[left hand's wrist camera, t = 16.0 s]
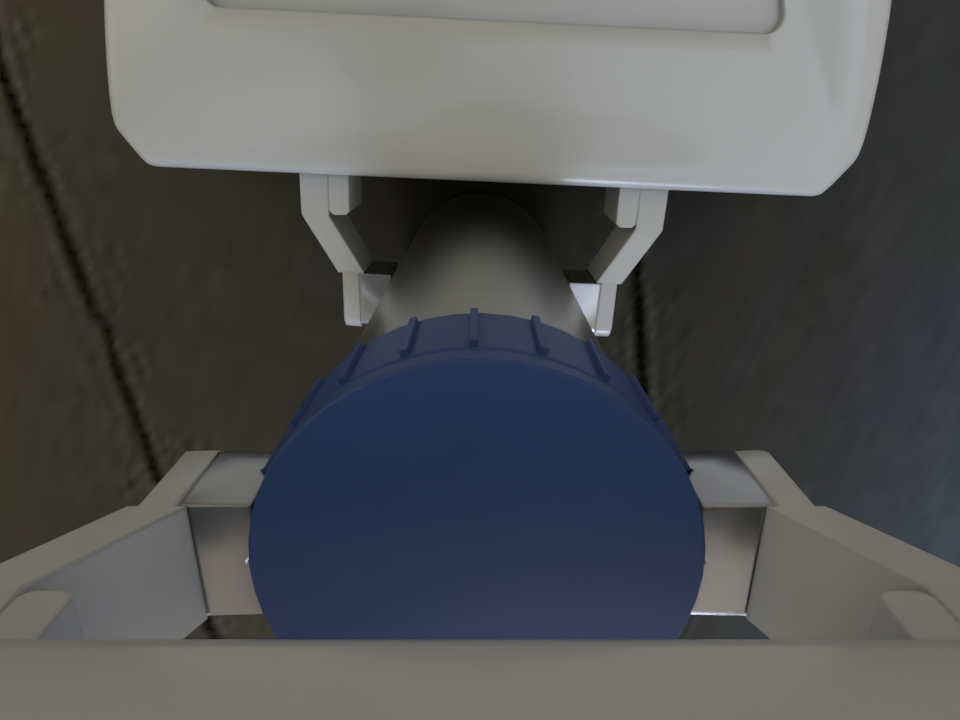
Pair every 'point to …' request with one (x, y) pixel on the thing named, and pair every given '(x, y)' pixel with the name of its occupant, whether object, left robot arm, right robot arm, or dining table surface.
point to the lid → (477, 495)
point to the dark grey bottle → (479, 270)
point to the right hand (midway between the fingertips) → (479, 326)
